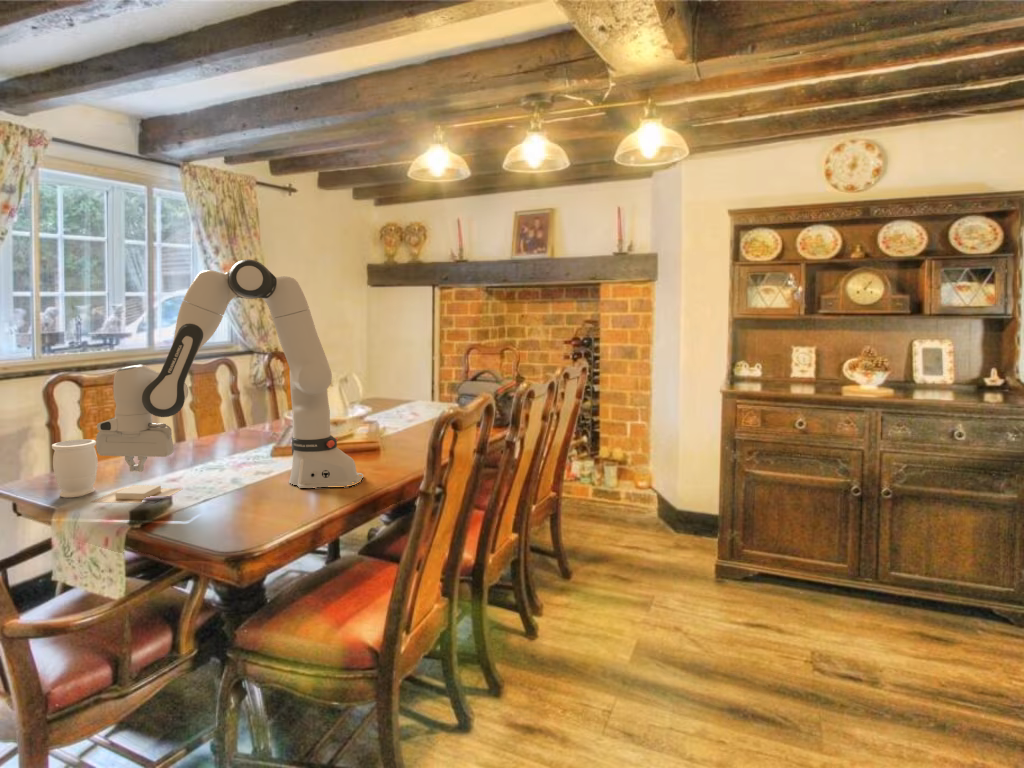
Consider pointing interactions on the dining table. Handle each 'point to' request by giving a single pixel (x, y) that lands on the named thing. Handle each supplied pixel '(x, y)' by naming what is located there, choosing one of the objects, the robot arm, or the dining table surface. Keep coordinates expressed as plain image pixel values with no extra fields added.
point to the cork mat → (112, 499)
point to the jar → (75, 467)
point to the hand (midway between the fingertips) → (136, 471)
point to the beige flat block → (138, 492)
